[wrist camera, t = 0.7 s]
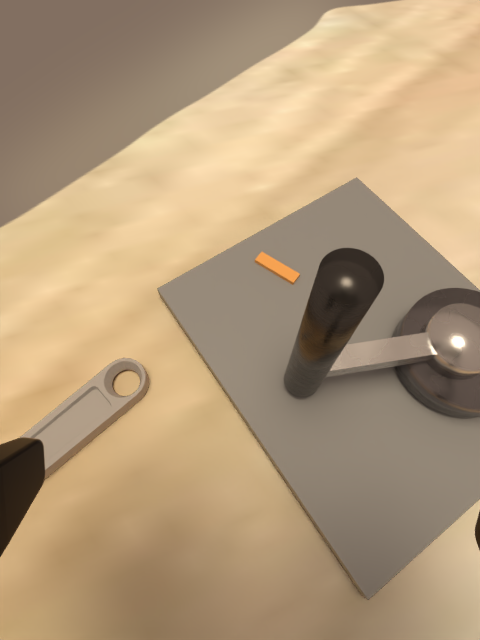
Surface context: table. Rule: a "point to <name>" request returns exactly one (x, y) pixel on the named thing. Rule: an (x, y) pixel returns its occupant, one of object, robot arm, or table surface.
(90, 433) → the adjustable wrench
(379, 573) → the level stand
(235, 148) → the table surface
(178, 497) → the table surface
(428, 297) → the crank handle
